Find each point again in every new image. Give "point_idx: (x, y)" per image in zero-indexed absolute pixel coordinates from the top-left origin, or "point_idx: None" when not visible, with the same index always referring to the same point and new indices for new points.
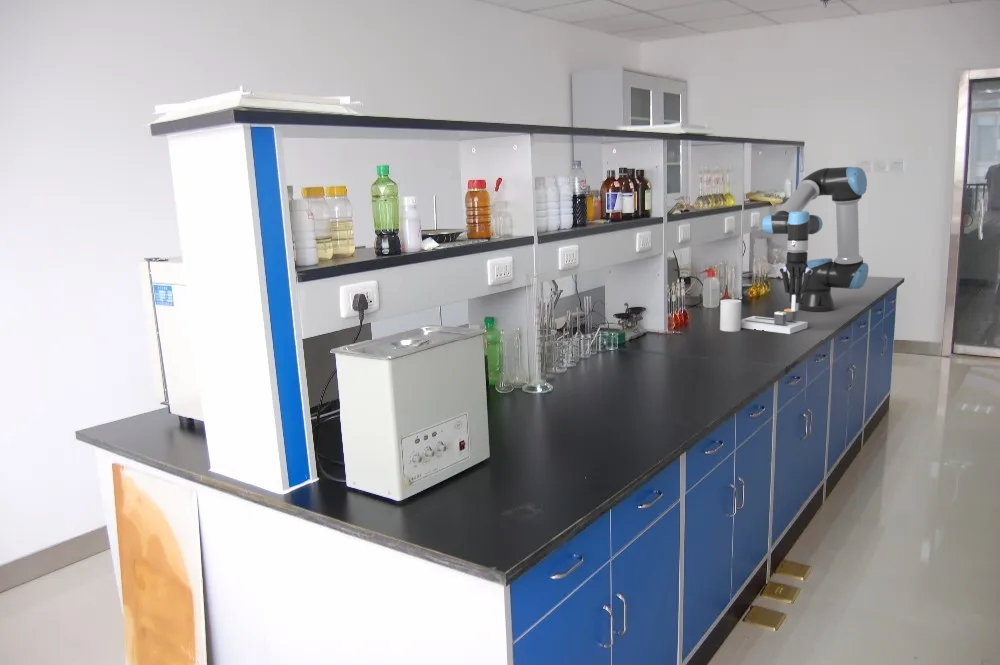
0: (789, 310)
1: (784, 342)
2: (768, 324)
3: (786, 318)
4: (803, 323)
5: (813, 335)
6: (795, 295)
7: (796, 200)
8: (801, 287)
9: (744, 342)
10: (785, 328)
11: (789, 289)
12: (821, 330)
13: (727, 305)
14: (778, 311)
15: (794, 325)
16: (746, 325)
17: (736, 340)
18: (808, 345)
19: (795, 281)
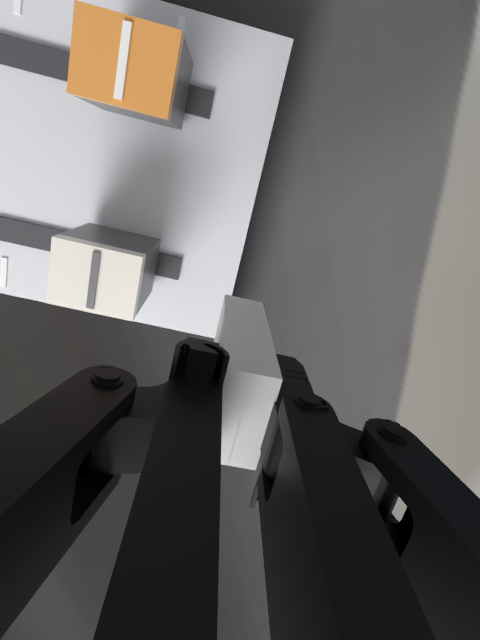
0: (130, 110)
1: (247, 521)
2: (42, 270)
3: (121, 112)
4: (272, 124)
5: (360, 311)
6: (254, 468)
7: None
8: (358, 484)
9: (78, 580)
10: (188, 329)
11: (117, 433)
12: (396, 120)
13: None
14: (59, 243)
15: (226, 238)
16: None
17: None
18: None
19: (216, 566)
